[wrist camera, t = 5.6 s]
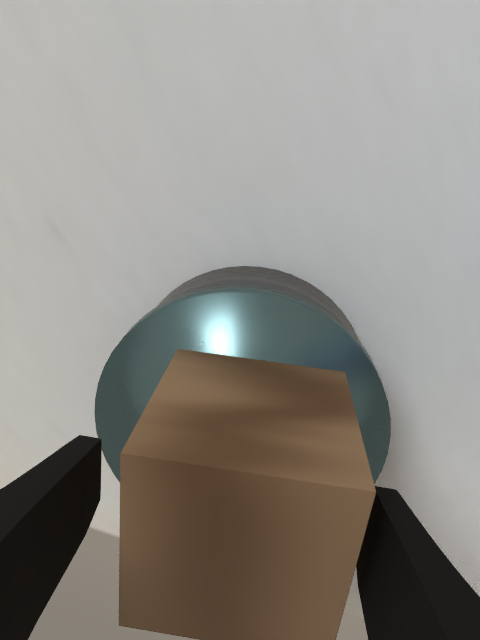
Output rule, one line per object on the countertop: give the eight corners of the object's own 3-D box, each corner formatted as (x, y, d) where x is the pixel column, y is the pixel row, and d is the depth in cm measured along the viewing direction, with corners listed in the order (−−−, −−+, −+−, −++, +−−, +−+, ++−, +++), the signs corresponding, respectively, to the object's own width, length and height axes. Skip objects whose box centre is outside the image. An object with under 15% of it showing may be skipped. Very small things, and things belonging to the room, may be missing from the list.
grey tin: (391, 274, 16) (422, 312, 12) (345, 483, 20) (359, 563, 16) (133, 246, 17) (89, 274, 13) (133, 454, 20) (98, 525, 16)
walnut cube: (345, 371, 13) (376, 492, 9) (316, 503, 15) (329, 662, 10) (177, 348, 14) (120, 453, 9) (169, 481, 15) (118, 625, 11)
